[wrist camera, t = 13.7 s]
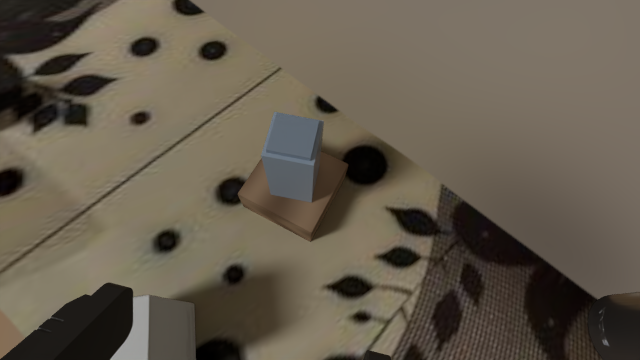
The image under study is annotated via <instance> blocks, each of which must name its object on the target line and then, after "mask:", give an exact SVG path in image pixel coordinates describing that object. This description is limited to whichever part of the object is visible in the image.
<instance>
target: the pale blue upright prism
mask: <svg viewBox="0 0 640 360" xmlns="http://www.w3.org/2000/svg"><path fill="white" fill-rule="evenodd" d="M323 125H324V121H320V120H315V119H309V118H304V117H299V116H294V115H288V114H283V113H278V112H274V115H273V118H272V121H271V125H270V128H269V131H268V135H267V138H266V141H265V145H264V148H263V151H262V155H261V157H262V161H263V165H264V169H265V173H266V177H267V181H268V185H269V189H270V193H271V195H276V196H281V197H286V198H291V199H296V200H301V201H306V202H311V203H312V199H313V194H314V189H315V185H316V180H317V176H318V171H319V166H320V157H321V146H322V135H323Z"/></svg>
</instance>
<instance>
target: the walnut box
mask: <svg viewBox="0 0 640 360" xmlns="http://www.w3.org/2000/svg"><path fill="white" fill-rule="evenodd" d="M347 168H348V164H347V163H345V162H343V161H341V160H339V159H337V158H334V157H332V156H330V155H328V154H326V153H324V152H322V151H321V157H320V166H319V171H318V176H317V180H316V185H315V189H314V194H313V199H312V203H311V202H306V201H301V200H296V199H291V198H286V197H281V196H276V195H271V193H270V189H269V185H268V181H267V177H266V173H265V169H264V165H263V161H262V158H261V160H260V161H259V163H258V164H257V166H256V167H255V169H254V170H253V172H252V173H251V175H250V176H249V178H248V179H247V181H246V182H245V184H244V185H243V187H242V188H241V190H240V191H239V193H238V196H239V198H240V200H241V202H242V204H243V206H244V207H246V208H248V209H249V210H251V211H253V212H255V213H257V214H259V215H261V216H263V217H265V218H266V219H268V220H270V221H272V222H274V223H276V224H278V225H280V226H282V227H283V228H285V229H287V230H289V231H291V232H293V233H295V234H297V235H299V236H300V237H302V238H304V239H306V240H308V241H310V242H311V240H312V238H313V236H314V234H315V232H316V230H317V229H318V227H319V225H320V223H321V221H322V219H323V217H324V216H325V214H326V212H327V210H328V208H329V206H330V204H331V203H332V201H333V199H334V197H335V195H336V193H337V191H338V190H339V188H340V186H341V184H342V182H343V180H344V178H345V175H346V171H347Z"/></svg>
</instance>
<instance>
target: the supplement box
mask: <svg viewBox="0 0 640 360" xmlns="http://www.w3.org/2000/svg"><path fill="white" fill-rule="evenodd" d="M110 360H196V343H195V307H194V303H190V302H184V301H179V300H174V299H168V298H162V297H157V296H152V295H142V296H136V297H133V326H132V329H131V332H130V334H129V336H128V338H127V339H126V341H125V342H124V343H123V344H122V346H121V347H120V348H119V349H118V351H117V352H116V353H115V354H114V355H113V357H112V358H111V359H110Z"/></svg>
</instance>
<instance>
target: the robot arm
mask: <svg viewBox="0 0 640 360" xmlns="http://www.w3.org/2000/svg"><path fill="white" fill-rule="evenodd" d="M132 326H133V290H132V289H131V288H129V287H125V286H121V285H117V284H113V283H106V284H104V285H103V286H102V287H100V288H99V289H98V290H97V291H96V292H95V293H94V294H93V295H91V296H90V295H86V294H85V295H83V296H81V297H79V298H77V299H75V300H73V301H71V302H69V303H67V304H65V305H64V306H63V307H62V308H61V309H59V310H58V311H57V312H56V313H55V314H53V315H52V316H51V318H50V319H48V320H46V321H45V322H44V323H43V324H42V325H40V326H39V328H38V329H37V330H35V331H33V332H32V333H31V334H30V335H29V336H27V337H26V338H25V339H24V340H23V341H22V342H21V343H19V344H18V345H17V346H16V347H14V348H13V349H12V350H11V351H10V352H8V353H7V354H6V355H5V356H4V357H3V358H1V359H0V360H110V359H111V358H112V357H113V355H114V354H115V353H116V352H117V351H118V349H119V348H120V347H121V346H122V344H123V343H124V342H125V341H126V339H127V338H128V336H129V334H130V332H131V329H132ZM588 328H589V334H590V337H591V339H592V342H593V344H594V346H595V348H596V350H597V352H598V353H599V354H600V356H601V357H602V358H603V360H640V292H635V293H625V294H616V295H608V296H604V297H602V298H600V299H598V300H597V301H596V302H595V303H594V304H593V306H592V308H591V310H590V313H589V317H588ZM363 360H391V357H390V356H389V355H385V354H381V353H377V352H373V351H369V350H367V351H366V353H365V356H364V359H363Z"/></svg>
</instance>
